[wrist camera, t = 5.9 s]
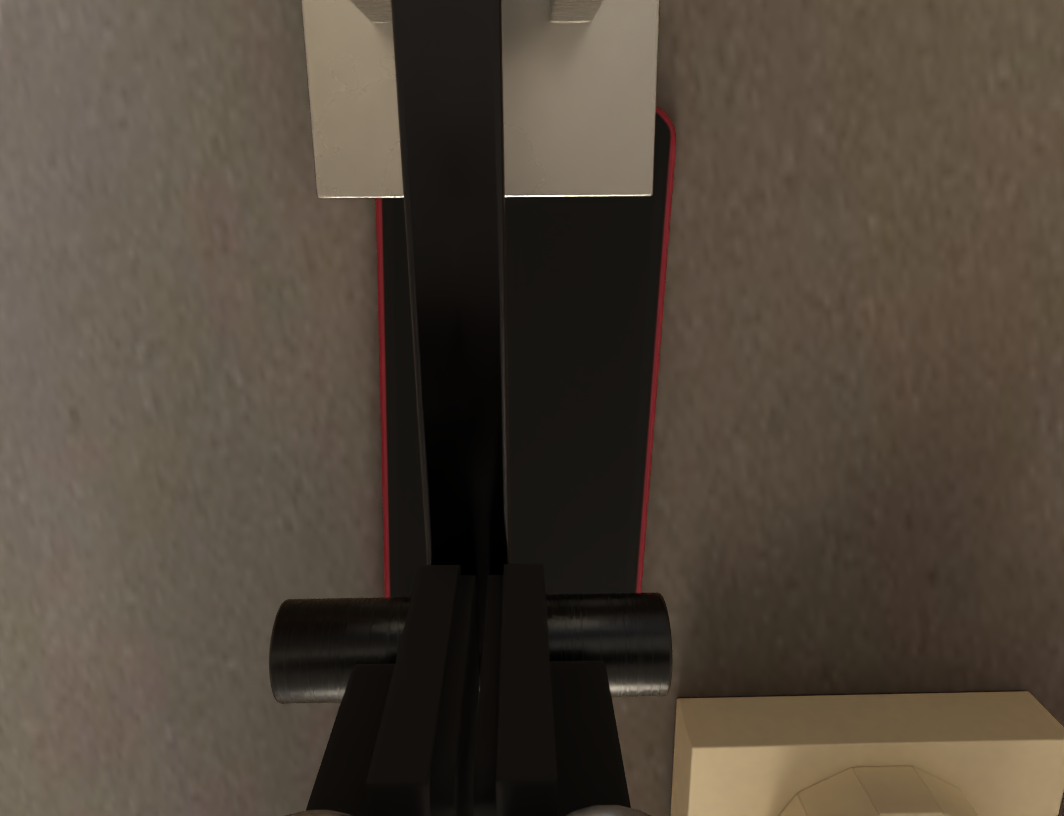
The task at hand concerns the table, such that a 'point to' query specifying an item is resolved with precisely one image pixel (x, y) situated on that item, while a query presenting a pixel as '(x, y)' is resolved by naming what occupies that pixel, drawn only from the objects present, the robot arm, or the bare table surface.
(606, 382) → the smartphone
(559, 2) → the bracket
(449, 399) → the lever
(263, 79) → the table surface
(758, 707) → the control block
